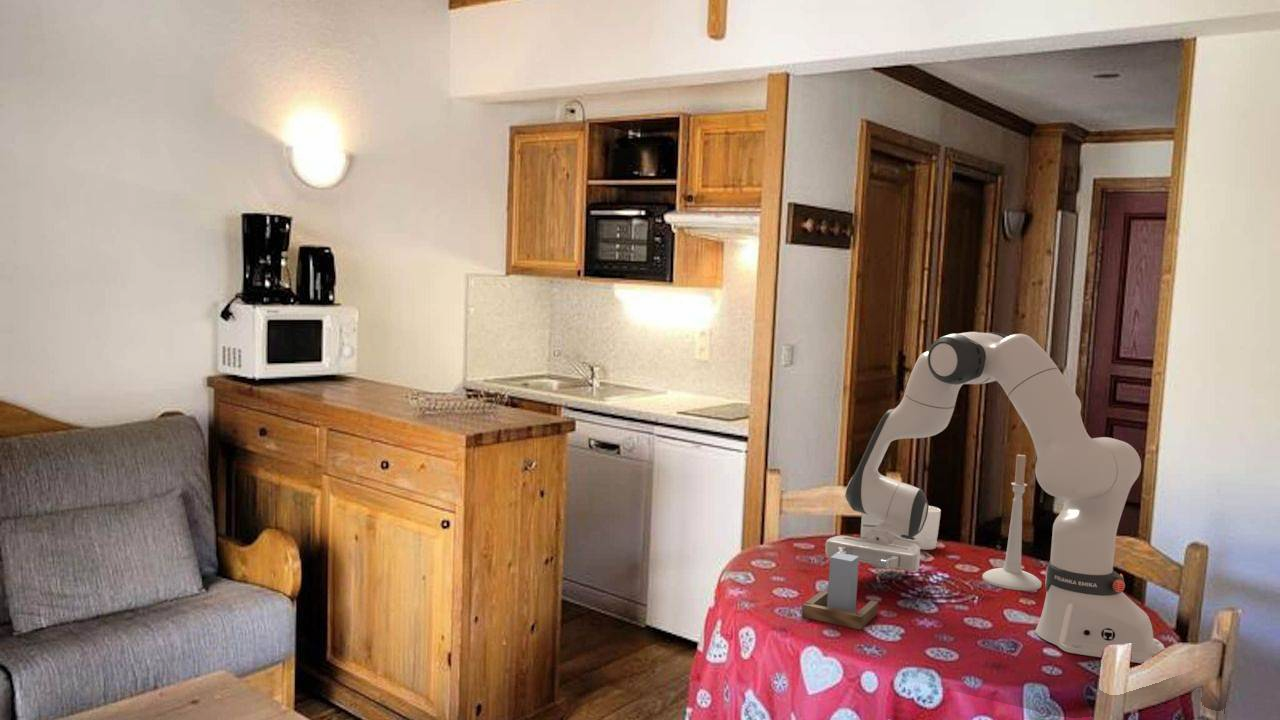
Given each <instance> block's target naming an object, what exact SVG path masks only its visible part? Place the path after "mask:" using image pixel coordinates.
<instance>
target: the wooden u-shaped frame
mask: <svg viewBox="0 0 1280 720" xmlns="http://www.w3.org/2000/svg"><path fill="white" fill-rule="evenodd" d="M827 600H828V590H827V591H826V590H823V589H822V590H820V591H819V592H818V593H816V594H815V595H813V596H812V597H811V598H809V599H808V600H807V601H805V602H804V603H803V604H802V608H801V609H802V610H801V611H802V612H801V613H802V614H801V618H804V619H805V618H806V619H811V620H815V621H820V622H824V623H827V624H828V623H829V624H833V625H837V626H842V627H847V628H852V629H856V630H859V631H860V630H862V629H864V627H865V626H866V625H867V624H868V623H870V621H872V620H873V619H874V618H875V617H876V616H877V615H878V614H879V612H878V611H879V601H876V600H870V601H868V603H867V604H865V605H864V606H862V608H861V609H860V610H858V611H857V612H855V613H852V612H847V611H843V610H838V609H833V608H829V607H827Z"/></svg>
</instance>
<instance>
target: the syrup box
mask: <svg viewBox="0 0 1280 720" xmlns="http://www.w3.org/2000/svg"><path fill="white" fill-rule="evenodd" d="M860 516H861V518H860V519H861V523H860V538H862V537H863V535H864V534H865V533H866V532H868V531H869V530H871V529H872V528H874V527H875V526H877V525H878V524H880V523H881V522H883V521H885V520H882V519H880V518H877V517H874V516H872V515H869V514H864V513H861V515H860Z"/></svg>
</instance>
